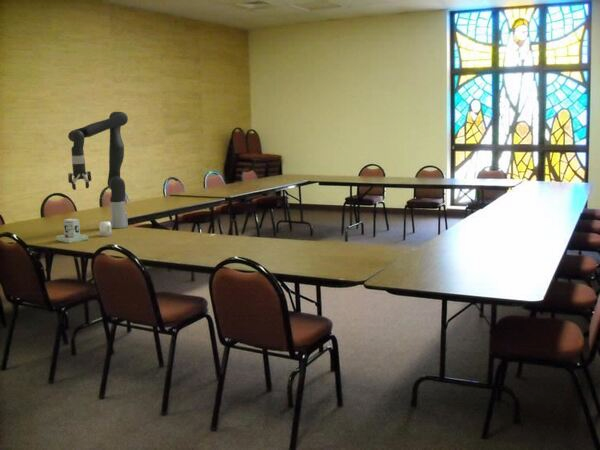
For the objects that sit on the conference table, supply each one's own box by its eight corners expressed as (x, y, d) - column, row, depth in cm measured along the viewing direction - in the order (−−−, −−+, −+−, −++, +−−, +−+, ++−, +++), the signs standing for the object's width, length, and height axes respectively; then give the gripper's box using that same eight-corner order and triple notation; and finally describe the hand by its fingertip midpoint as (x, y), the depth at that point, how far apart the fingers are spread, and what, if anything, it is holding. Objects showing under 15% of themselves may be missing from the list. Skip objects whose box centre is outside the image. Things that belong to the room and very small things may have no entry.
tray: (75, 237, 396) (74, 233, 395) (88, 240, 385) (87, 235, 385) (56, 240, 387) (56, 235, 387) (69, 243, 377) (69, 238, 376)
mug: (108, 233, 405) (107, 221, 403) (116, 235, 398) (115, 222, 397) (97, 235, 400) (96, 222, 398) (105, 237, 393) (104, 224, 392)
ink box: (64, 239, 386) (62, 219, 385) (71, 237, 391) (69, 218, 389) (74, 240, 382) (72, 220, 380) (80, 238, 386) (79, 219, 384)
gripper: (86, 161, 410) (88, 187, 413) (64, 163, 400) (67, 189, 403) (92, 162, 405) (94, 188, 408) (70, 164, 395) (73, 190, 398)
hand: (80, 188), depth 405 cm, fingers open, 8 cm apart
